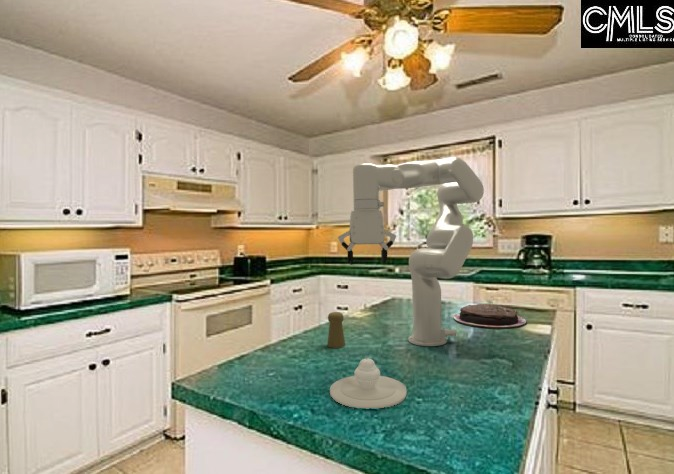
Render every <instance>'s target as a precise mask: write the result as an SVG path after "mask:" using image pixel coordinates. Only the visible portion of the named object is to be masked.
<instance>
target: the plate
mask: <svg viewBox="0 0 674 474" xmlns="http://www.w3.org/2000/svg"><path fill="white" fill-rule="evenodd" d="M329 396H330V398H331V397H332V398H333V399H334V400H335V401H336V402H338V403H340V404H342V405H341V406H343V405H345V406H349V407H356V408H366V409H369V408H384V407H389V408H391V407H390V406H392V407H395V406H398V405H400V404H401V403H403V402H404V401H405V400H406V398H407V387H406V386H405V384H404V383H402V382H401V381H399V380H398V379H394V378H392V377H388V376H385V375H380V376H379V379H378V381H377V383H376V385H375V387H374V389H372V390H364V389H362V388H361V387H360V385H359V384H358V382H357V380H356V377H355V375H352V376H351V375H350V376H346V377H343V378H341V379H338V380H336V381H334V382H333V383H332V384H331V385H330V388H329ZM332 398H331V399H332ZM333 399H332V400H333ZM334 400H333V401H334ZM335 401H334V402H335ZM336 402H335V403H336ZM338 403H337V404H338ZM340 404H339V405H340ZM397 404H398V405H397ZM394 405H395V406H394ZM345 406H344V407H345ZM349 407H348V408H349Z"/></svg>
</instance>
